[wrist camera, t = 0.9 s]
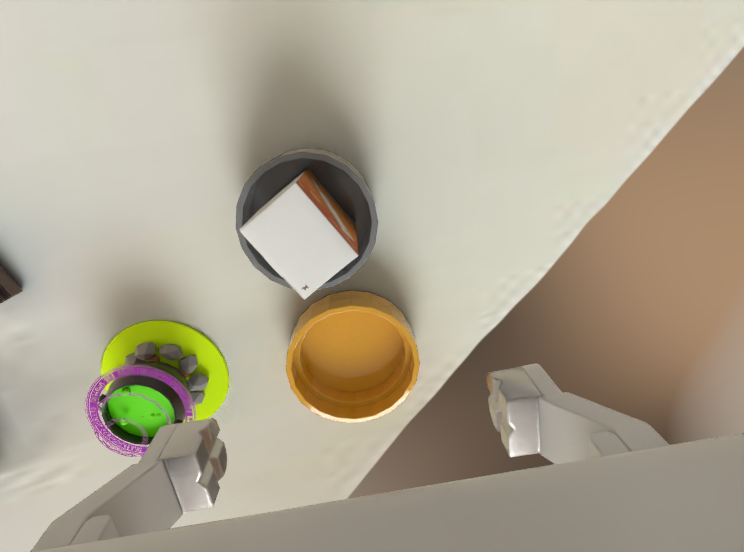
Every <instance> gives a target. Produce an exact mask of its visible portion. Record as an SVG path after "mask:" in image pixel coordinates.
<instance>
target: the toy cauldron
mask: <svg viewBox="0 0 744 552" xmlns="http://www.w3.org/2000/svg"><path fill="white" fill-rule="evenodd" d="M101 374H102V375H101V376H100V377H101V378H102V379H101V378H100V379H101V380H100V379H99V380H100V381H99V380H98V381H99V382H98V381H97V382H98V384H97V385H96V386H95V384H96V383H97V382H96V381H95V382H96V383H95V382H94V383H95V384H94V383H93V384H94V386H95V388H94V390H93V391H95V393H96V392H98V393H97V394H95V393H94V392H92V394H93V396H92V394H91V391H92V389H93V387H94V386H93V385H92V386H93V387H92V386H91V387H92V388H90V389H91V391H90V390H89V391H90V394H91V398H90V394H89V392H88V394H89V397H88V396H87V398H88V401H86V407H88V409H87V410H88V411H87V413H88V414H89V415H88V417H90V418H89V420H90V419H91V416H92V419H93V421H92V419H91V421H92V423H91V424H92V426H93V425H94V426H93V427H94V431H96V432H95V435H96V433H97V436H98V439H99V435H100V436H101V437H102V438H103V437H104V436H105V437H106V438H107V435H108V434H109V433H110V432H109V431H108V430H107V429H108V428H109V429H110V430H111V432H112V433H113V434H114V435H116V436H118V437H119V438H121V439H122V440H124V441H127V442H131V443H134V444H141V445H142V444H145V445H148V444H150V443H151V442H152V440H153V438H154V437H155V435H156V433H157V432H158V430H159V428H160V427H162V426H165V425H170V424H176V423H183V422H190V421H197V420H204V419H207V418H209V417H210V416H211V415H213V414H214V413H215V412H216V410H217V409H218V408H219V407H220V406H221V404H222V402H223V401H224V399H225V397H226V394H227V391H228V387H229V374H228V368H227V365H226V362H225V360H224V358H223V356H222V354H221V353H220V351H219V350H218V348H217V347H216V346H215V345H214V344H213V343H212V342H211V341H210V340H209V339H208V338H207V337H206V336H204V335H203V334H201V333H200V332H199V331H197V330H195V329H193V328H191V327H188V326H186V325H183V324H180V323H176V322H171V321H162V320H157V321H146V322H142V323H138V324H135V325H133V326H130V327H128V328H126V329H124V330H123V331H122V332H120V333H119V334H118V335H117V336H115V338H114V339H113V340H112V341H111V342H110V344H109V345H108V347H107V349H106V351H105V353H104V355H103V359H102V364H101ZM97 379H98V378H97ZM100 382H101V384H99V383H100ZM102 383H103V384H104V385H103V384H102ZM98 385H99V386H98ZM101 385H102V386H103V387H102V386H101ZM99 387H101V389H100V391H99ZM104 387H105V389H106V391H107V393H106V395H104V394H102V395H101V396H99V395H100V393H102V392H101V391H102V390H103V388H104ZM96 388H98V389H96ZM95 389H96V390H98V391H96V390H95ZM94 394H95V395H98V396H95V395H94ZM89 398H90V411H93V412H91V416H90V412H89ZM85 399H86V398H85ZM98 399H99V402H100V403H103V405H102V408H101V407H100V406H99V405H100V403H99V404H97V403H98ZM95 400H96V402H95ZM87 402H88V404H87ZM87 405H88V406H87ZM93 407H95V408H96V409H91V408H93ZM98 410H100V411H101V412H102V417H103V419H104V422H105V425H106V426H107V427H108V428H107V429H106V428H105V427H104V425H103V424H102V422H101V420H100V417H99V414H98ZM85 411H86V410H85ZM94 411H95V412H94ZM96 412H97V413H96ZM93 414H95V416H94V415H93ZM86 415H87V414H86ZM96 415H97V416H96ZM97 417H98V418H97ZM87 419H88V418H87ZM95 419H98V420H99V422H97V421H98V420H95ZM89 420H88V421H89ZM91 421H90V422H91ZM90 422H89V423H90ZM96 422H97V423H98V424H100V423H101V424H100V425H103V426H102V427H101V426H100V425H98V424H96ZM91 424H90V425H91ZM95 425H96V426H97V428H98V429H99V431H100V432H101V433H102V434H103V433H104V432H106V431H107V432H108V433H104V434H103V435H104V436H103V435H102V434H101V433H100V432H99V431H98V429H97V428H96V427H95ZM92 426H91V427H92ZM93 427H92V428H93ZM95 428H96V429H97V430H96V429H95ZM101 429H102V430H101ZM104 429H105V430H106V431H105V430H104ZM103 430H104V431H103ZM97 431H98V432H99V433H100V434H99V433H98V432H97ZM110 434H111V433H110ZM110 434H109V436H110ZM97 436H96V437H97ZM109 436H108V439H109V440H110V441H112V442H113V441H115V442H116V441H117V440H119V439H118V438H116V437H115V436H113V435H112V434H111V436H110V437H112V436H113V437H114V438H115V439H117V440H113V439H114V438H113V437H112V438H113V439H112V438H110V437H109ZM105 437H104V438H105ZM104 438H103V439H104ZM106 438H105V439H106ZM105 439H104V440H105ZM104 440H103V443H104V444H106V443H107V442H108V441H109V440H107V439H106V440H107V442H106V443H105V442H104ZM106 440H105V441H106ZM99 441H100V442H101V443H102V441H101V440H99ZM110 441H109V442H110ZM119 441H120V443H122V444H120V443H119ZM119 441H117V442H118V443H119V444H118V443H117V442H116V443H117V444H116V443H115V442H113V443H115V444H116V445H115V444H114V445H115V447H116V446H117V445H118V446H117V448H118V447H119V446H120V445H121V446H120V447H119V450H120V449H121V450H122V449H123V448H125V447H126V448H125V449H124V450H122V452H124V451H125V450H126V449H127V447H128V445H130V446H129V449H128V450H126V452H128V451H129V450H130V451H129V452H130V454H126V453H125V452H124V453H121V452H119V451H118V454H119V453H121V455H124V454H126V455H125V456H127V455H132V456H130V457H140V456H136V455H134V456H133V454H136V453H138V452H139V451H138V449H137V448H142V449H139V450H142V451H141V452H145V451H146V450H147V448H148V447H145V446H144V447H143V446H142V447H140V446H141V445H140V446H135V445H131V444H128V443H125V442H123V441H121V440H119ZM109 442H108V443H109ZM112 442H110V444H111V443H112ZM103 443H102V444H103ZM113 443H112V444H113ZM123 443H124V444H123ZM104 444H103V445H104ZM110 444H109V445H110ZM112 444H111V445H112ZM111 445H110V446H111ZM114 445H113V446H114ZM124 445H127V446H125V447H124ZM104 446H105V445H104ZM106 446H107V444H106ZM110 446H107V448H108V449H110V450H112V451H113V449H111V448H110ZM131 446H132V448H133V446H134V448H133V450H131ZM115 447H114V448H115ZM121 447H123V448H121ZM117 448H115V449H114V450H115V451H116V453H117V450H116V449H117ZM135 448H136V449H135ZM136 450H137V451H136ZM115 451H113V452H115ZM132 451H133V452H134V451H136V452H134V453H131V452H132ZM138 454H139V453H138ZM139 455H141V457H142V456H143V455H144V453H140V454H139Z"/></svg>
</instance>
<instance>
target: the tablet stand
mask: <svg viewBox="0 0 744 552" xmlns="http://www.w3.org/2000/svg"><path fill="white" fill-rule="evenodd" d="M22 291H23V290H22V289H21V288H20V287H19V286H18V284H17V283H16V282H15V281H14V280H13V279H12V278H11V277H10V275H9V274H8V273H7V272H6V271H5V270H4V269H3V268H2V266H1V265H0V303H2V302H4V301H6V300H7V299H9V298H11V297H13V296H15V295H16V294H18V293H20V292H22Z"/></svg>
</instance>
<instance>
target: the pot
mask: <svg viewBox="0 0 744 552" xmlns="http://www.w3.org/2000/svg"><path fill="white" fill-rule="evenodd" d="M307 168H309V169H310V170H311V171H312V173H313V174H314V175H315V176H316V177H317V179H318V180H319V181H320V182H321V184H322V185H323V186H324V187H325V188H326V190H327V191H328V192H329V193H330V194H331V196H332V197H333V198H334V199H335V200H336V201H337V203H338V204H339V205H340V206H341V207H342V208H343V210H344V211H345V212H346V213H347V214H348V215H349V216H350V217H351V218H352V220H353V221H354V222H355V223H356V231H357V243H358V254H359V255H358V257H356V258H355V259H354V260H352V261H351V262H350V263H349V264H348V265H346V266H345V267H344V268H343V269H341V270H340V271H339V272H338V273H336V274H335V275H334V276H333V277H331V278H330V279H329V280H328V281H327V282H325V283H324V284H323V285H322V286H320V287H319V288H318V289H317V290H319V289H324V288H329V287H333V286H335V285H337V284H339V283H341V282H343V281H345V280H347V279H348V278H350V277H352V276H353V275H354V274H355V273H356V272H357V271H358V270H359V268H360V267H361V266H362V265H363V264H364V263H365V262H366V261H367V258H368V256H369V254H370V252H371V250H372V248H373V246H374V244H375V240H376V233H377V226H378V220H377V214H376V209H375V203H374V199H373V197H372V194H371V191H370V189H369V187H368V186H367V184H366V182H365V180H364V178H363V176H362V175H361V173H360V172H359V171H358V170H357V169H356V168H355V167H354V166H352V165H351V164H350V163H349V162H348V161H347V160H346V159H344V158H342V157H340V156H338V155H336V154H333V153H331V152H329V151H326V150H320V149H312V148H304V149H299V150H293V151H288V152H285V153H284V154H282V155H280V156H278V157H276V158H275V159H273V160H271V161H269V162H268V163H266V164H264V165H262V166H261V167H259V168H258V169H257V171H256V172H255V173H254V174H253V175H252V176H251V178H250V179H249V180H248V181H247V182H246V183H245V185H244V187H243V190H242V193H241V195H240V198H239V200H238V203H237V208H236V230H237V233H238V237H239V240H240V244H241V247H242V249H243V251H244V252H245V254H246V255H247V257H248V258H249V260H250V261H251V263H252V264H253V266H254V267H255V268H257V269H258V270H259V271H260V272H261V273H263V274H264V275H265V276H266V277H268V278H269V279H270V280H272V281H274V282H276V283H279V284H281V285H284V286H286V287H288V288H291V289H293V288H292V287H291V286H290V284H289V283H288V282H287V281H286V280H285V279H284V278H283V277H281V276H280V275H279V274H278V273H277V272H276V271H275V270H274V269H273V268H272V267H271V266H270V264H269V263H268V262H267V261H266V260H265V259H264V257H263V256H262V255H261V254H260V253H259V252H258V251H257V250H256V249H255V248H254V247H253V246H252V244H251V243H250V242H249V241H248V240H247V239H246V238H245V237H244V236H243V234H242V233H241V232H240V228H241V227H242V226H243V225H244V224H245V223H246V222H247V221H248V220H249V219H250V218H251V217H252V216H253V215H254V214H255V213H256V212H257V211H258V210H259V209H260V208H261V207H262V206H263V205H264V204H265V203H267V202H268V201H269V200H270V199H271V198H272V197H274V196H275V195H276V194H277V193H278V192H279V191H281V190H282V189H283V188H284V187H285V186H287V185H288V184H289V183H290V182H291V181H292V180H294V179H295V178H296V177H297V176H298V175H299V174H301V173H302V172H303V171H304V170H305V169H307Z"/></svg>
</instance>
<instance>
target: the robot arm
mask: <svg viewBox="0 0 744 552" xmlns="http://www.w3.org/2000/svg"><path fill="white" fill-rule="evenodd" d="M487 386H488V388H489V389H490V392H491V395H490V396H489V398H488V401H489V409H490V414H491V418H492V421H493V424H494V426H495V428H496V430H497V431H499V432H501V438H502V442H503V444H504V446H505V448H506V450H507V452H508V454H509V456H510V457H514V456H521V455H528V454H535V453H540V454H541V455H543V456H544V457H545V458H547V459H548V460H550V461H551V462H553V463H554V465H549V466H542V467H537V468H530V469H524V470H518V471H512V472H507V473H500V474H495V475H488V476H482V477H476V478H471V479H464V480H459V481H453V482H447V483H441V484H435V485H429V486H423V487H417V488H411V489H405V490H399V491H393V492H387V493H382V494H375V495H369V496H363V497H358V498H351V499H345V500H339V501H333V502H327V503H321V504H315V505H309V506H303V507H297V508H291V509H285V510H279V511H273V512H267V513H261V514H255V515H249V516H243V517H237V518H231V519H225V520H219V521H213V522H207V523H202V524H196V525H190V526H184V527H178V528H172V529H170V528H171V527H172V526H173V525H174V523H175V522H176V521H177V520H178V519H179V518H180V517H181V516H182V515H183V512H188V511H193V510H198V509H203V508H208V507H213V506H214V503H215V500H216V497H217V494H218V491H219V489H220V487H219V484H218V481H219V480H220V479H221V478H222V477H223V476H224V474H225V470H226V465H227V454H226V448H225V445H224V442H223V441H221V440H220V439H219V438H217V435H218V433H219V430H220V429H219V427H218V424H217V421H216V420H215V419H213V418H211V419H204V420H197V421H190V422H183V423H176V424H170V425H165V426H162V427H160V428H159V430H158V432H157V433H156V435H155V437H154V438H153V440H152V442H151V443H150V445H149V446H148V448H147V450H146V451H145V453H144V455H143V456H142V458H141V460H140V461H139V463H138V464H133V465H131V466H130V467H129V468H127V469H126V470H124V471H123V472H122V473H120V474H119V475H117V476H116V477H115V478H113V479H112V480H110V481H109V482H108V483H106V484H105V485H103V486H102V487H101V488H99V489H98V490H97V491H95V492H94V493H92V494H91V495H90V496H88V497H87V498H85V499H84V500H83V501H81V502H80V503H78V504H77V505H76V506H74V507H73V508H71V509H70V510H69V511H67V512H66V513H64V514H63V515H62V516H60V517H59V518H57V519H56V520H55V521H53V522H52V523H51V524H50V526H49V527H48V528H47V530H46V531H45V533H44V534H43V535H42V537H41V538H40V539H39V541H38V542H37V543H36V545H35V546H34V548H33V549H32V550H31V552H744V433H740V434H734V435H728V436H722V437H716V438H710V439H705V440H698V441H692V442H687V443H680V444H674V445H669V444H668V443H667V442H666V441H665V440H664V439H663V438H662V437H661V436H660V435H659V434H658V433H657V432H656V431H655V430H654V429H653V428H652V427H651V426H650V425H649V424H648V423H646V422H643V421H640V420H638V419H635V418H633V417H630V416H628V415H625V414H622V413H620V412H617V411H615V410H612V409H609V408H607V407H604V406H602V405H599V404H596V403H594V402H591V401H589V400H586V399H583V398H581V397H578V396H576V395H573V394H571V393H568V392H566V393H562V392H561V390H560V389H559V388H558V387H557V386H556V384H555V383H554V382H553V381H552V379H551V378H550V377H549V376H548V375H547V373H546V372H545V371H544V370H543V369H542V368H541V366H540V365H539V364H531V365H527V366H522V367H517V368H512V369H507V370H501V371H496V372H491V373H487Z"/></svg>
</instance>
